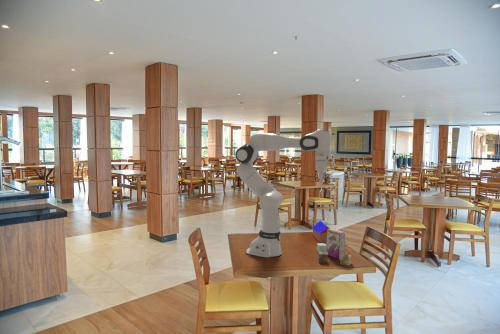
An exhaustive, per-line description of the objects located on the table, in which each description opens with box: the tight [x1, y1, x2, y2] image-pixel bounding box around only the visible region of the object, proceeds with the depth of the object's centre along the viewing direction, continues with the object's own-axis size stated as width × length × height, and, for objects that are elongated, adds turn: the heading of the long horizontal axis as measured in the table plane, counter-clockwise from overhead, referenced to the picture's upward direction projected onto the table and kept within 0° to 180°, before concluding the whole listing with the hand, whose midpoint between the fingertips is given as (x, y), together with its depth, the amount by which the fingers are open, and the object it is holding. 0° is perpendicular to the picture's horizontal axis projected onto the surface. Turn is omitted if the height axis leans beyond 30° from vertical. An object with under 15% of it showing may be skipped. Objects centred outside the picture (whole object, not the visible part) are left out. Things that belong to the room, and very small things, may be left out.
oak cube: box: [339, 253, 353, 267], centre depth 198 cm, size 5×5×5 cm
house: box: [312, 220, 331, 244], centre depth 251 cm, size 12×20×12 cm, turn 4°
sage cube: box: [316, 242, 327, 254], centre depth 220 cm, size 5×5×5 cm
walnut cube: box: [318, 252, 329, 264], centre depth 202 cm, size 5×5×5 cm
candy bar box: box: [326, 228, 346, 261], centre depth 210 cm, size 11×5×16 cm, turn 31°
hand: (322, 180), depth 203 cm, fingers open, 8 cm apart
